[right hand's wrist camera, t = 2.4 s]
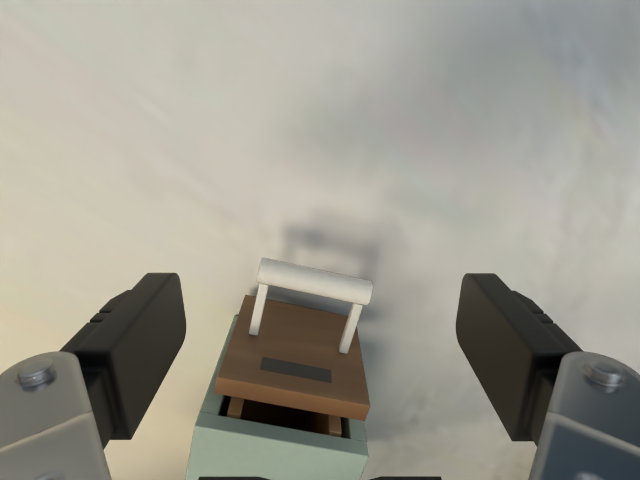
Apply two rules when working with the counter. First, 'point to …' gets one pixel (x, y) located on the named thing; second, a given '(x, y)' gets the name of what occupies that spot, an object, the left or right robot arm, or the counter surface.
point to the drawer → (297, 354)
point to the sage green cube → (270, 445)
